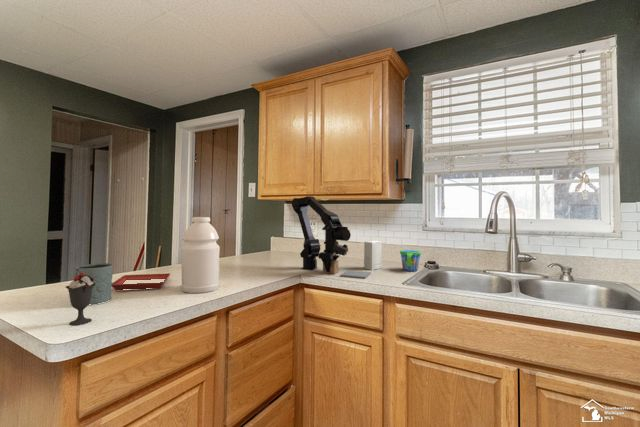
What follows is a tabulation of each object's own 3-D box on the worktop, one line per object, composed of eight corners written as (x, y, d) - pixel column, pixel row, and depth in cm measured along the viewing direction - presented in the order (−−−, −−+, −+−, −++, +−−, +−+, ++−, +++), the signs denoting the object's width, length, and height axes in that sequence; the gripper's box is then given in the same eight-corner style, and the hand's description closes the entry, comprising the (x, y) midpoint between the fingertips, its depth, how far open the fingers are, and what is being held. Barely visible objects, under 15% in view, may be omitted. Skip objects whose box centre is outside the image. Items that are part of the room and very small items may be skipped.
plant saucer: (170, 280, 138) (170, 272, 138) (163, 290, 120) (163, 281, 120) (123, 282, 132) (123, 275, 132) (109, 293, 115) (109, 284, 115)
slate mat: (340, 276, 147) (340, 274, 147) (347, 271, 158) (347, 270, 158) (365, 278, 143) (365, 277, 143) (371, 273, 154) (371, 272, 154)
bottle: (202, 295, 113) (202, 217, 112) (172, 291, 118) (173, 217, 117) (226, 286, 126) (227, 217, 126) (199, 283, 131) (199, 216, 130)
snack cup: (403, 267, 174) (403, 248, 174) (423, 268, 169) (423, 250, 169) (396, 271, 160) (396, 252, 160) (417, 274, 155) (418, 253, 155)
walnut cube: (322, 273, 153) (322, 261, 153) (327, 271, 159) (327, 259, 159) (334, 274, 151) (334, 262, 151) (338, 272, 157) (338, 260, 157)
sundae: (67, 328, 80) (68, 270, 80) (62, 322, 85) (62, 267, 85) (98, 322, 85) (98, 267, 85) (92, 316, 90) (92, 264, 90)
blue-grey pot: (106, 304, 100) (106, 267, 100) (69, 307, 98) (69, 269, 97) (117, 296, 110) (117, 262, 110) (83, 298, 107) (83, 263, 107)
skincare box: (373, 267, 173) (374, 240, 172) (382, 268, 168) (382, 241, 168) (363, 268, 167) (363, 241, 167) (371, 270, 163) (372, 242, 162)
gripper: (340, 242, 143) (340, 275, 144) (351, 238, 161) (351, 268, 161) (318, 240, 147) (317, 273, 148) (331, 237, 165) (330, 267, 165)
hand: (330, 270), depth 155 cm, fingers closed on walnut cube, 6 cm apart
